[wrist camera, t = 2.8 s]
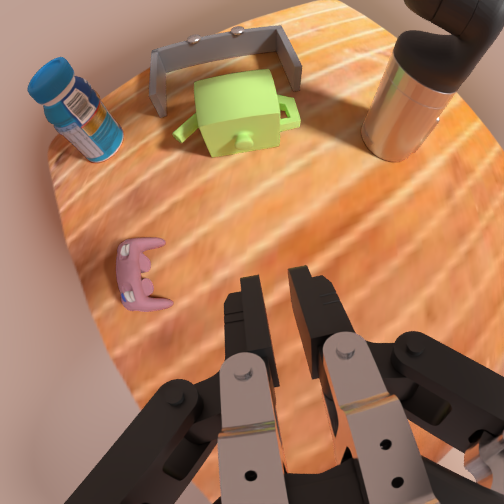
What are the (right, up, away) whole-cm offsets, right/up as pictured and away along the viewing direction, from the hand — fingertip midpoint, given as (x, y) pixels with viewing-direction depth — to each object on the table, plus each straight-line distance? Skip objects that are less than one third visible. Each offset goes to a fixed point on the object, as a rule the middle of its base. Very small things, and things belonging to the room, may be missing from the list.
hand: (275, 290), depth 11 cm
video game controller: (-15, -2, +27) cm, 31 cm away
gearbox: (-3, +19, +31) cm, 37 cm away
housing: (-6, +34, +34) cm, 48 cm away
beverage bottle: (-27, +21, +33) cm, 47 cm away
